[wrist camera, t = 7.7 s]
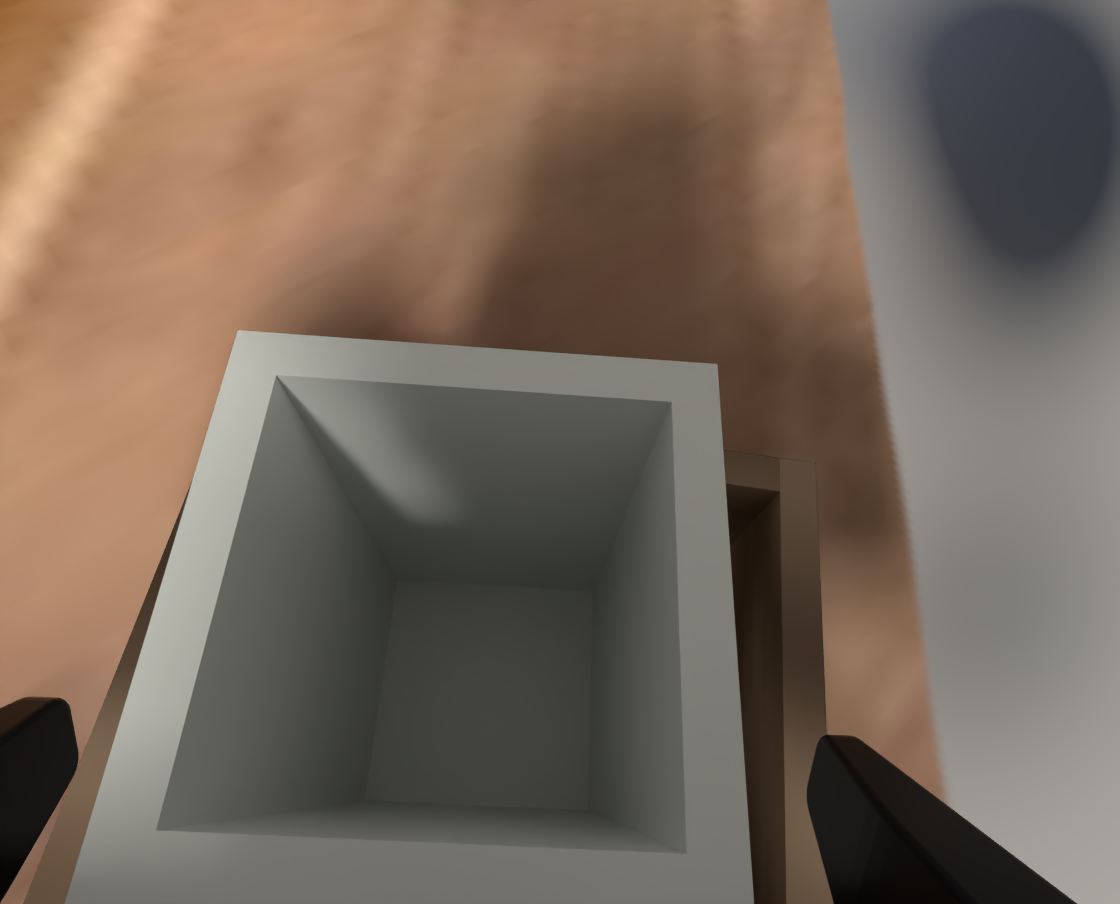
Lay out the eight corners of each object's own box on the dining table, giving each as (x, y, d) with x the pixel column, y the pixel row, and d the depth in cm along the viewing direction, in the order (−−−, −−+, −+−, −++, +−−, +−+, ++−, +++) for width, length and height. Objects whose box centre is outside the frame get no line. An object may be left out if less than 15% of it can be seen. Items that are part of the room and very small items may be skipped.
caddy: (611, 841, 15) (756, 935, 6) (337, 829, 15) (62, 908, 6) (614, 575, 18) (717, 363, 9) (381, 561, 17) (238, 329, 8)
